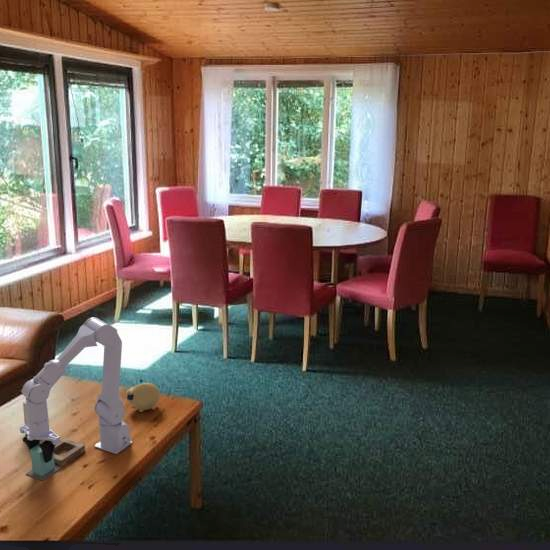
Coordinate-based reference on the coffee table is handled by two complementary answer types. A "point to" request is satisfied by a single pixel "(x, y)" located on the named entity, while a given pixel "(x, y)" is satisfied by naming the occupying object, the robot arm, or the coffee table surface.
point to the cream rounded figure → (143, 396)
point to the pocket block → (73, 453)
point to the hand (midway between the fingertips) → (42, 458)
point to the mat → (43, 475)
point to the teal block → (40, 461)
